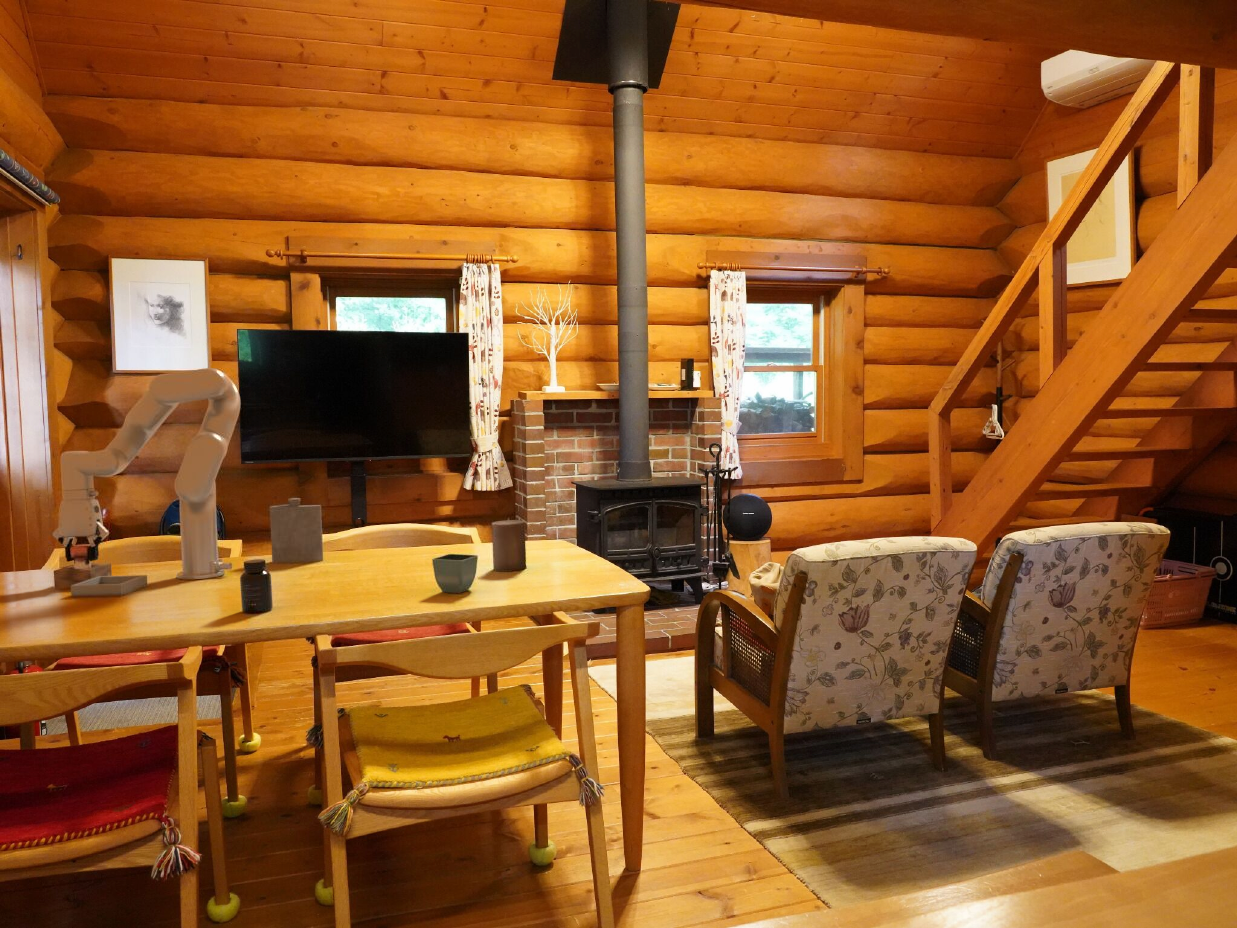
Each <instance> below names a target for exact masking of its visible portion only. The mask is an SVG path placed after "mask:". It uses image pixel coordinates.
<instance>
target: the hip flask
mask: <svg viewBox="0 0 1237 928" xmlns="http://www.w3.org/2000/svg"><path fill="white" fill-rule="evenodd" d="M287 501H288V502H289V503H288V504H278V505H271V506H269V516H270V517H269V519H270V521H269V522H270V539H271V540H270V541H271V559H272V561H271V562H272V563H277V564H279V563H284V564H286V563H292V564H293V563H294V564H295V563H318V562H319V563H320V562H323V561H324V545H323V525H322V523H323V522H322V505H321V504H314V505H313V504H310V505H309V504H307V505H304V504H303V505H300V504H301V503H300V502H301V498H300V497H299V498H298V497H292V498H288V500H287Z"/></svg>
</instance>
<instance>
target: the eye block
mask: <svg viewBox="0 0 1237 928" xmlns="http://www.w3.org/2000/svg"><path fill="white" fill-rule="evenodd" d="M98 576H113V575H112V563H91V568H88V569H74V564H72V565H69V566H65V567H61V568H58V569H54V570H53V581H54V582H53V583H54V590H63V589H65V590H66V589H68V590H71V585H74V584H77V583H80V582H83V581H86V580H89V579H92V578H95V577H98Z"/></svg>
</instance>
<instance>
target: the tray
mask: <svg viewBox="0 0 1237 928" xmlns="http://www.w3.org/2000/svg"><path fill="white" fill-rule="evenodd" d="M147 587H148V575H147V574H146V575H145V574H144V575H143V574H139V575H138V574H137V575H136V574H135V575H133V574H131V575H112V576H98V577H95V578H92V579H89V580H86V581H83V582H80V583H77V584H74V585H71V589H70V597H71V598H86V597H87V598H88V597H89V598H92V597H123V596H125V595H128V594H131V593H132V592H136V591H138V590H140V589H143V588H147Z"/></svg>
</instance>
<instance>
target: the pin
mask: <svg viewBox="0 0 1237 928" xmlns="http://www.w3.org/2000/svg"><path fill="white" fill-rule="evenodd" d="M89 547H90V543H89V544H87V543H84V544H83V543H82V544H73V546H70V558H74V560H73V563H74V564H73V565H74V569H88V568H91V564H92V561H89V550H88V548H89Z"/></svg>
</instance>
